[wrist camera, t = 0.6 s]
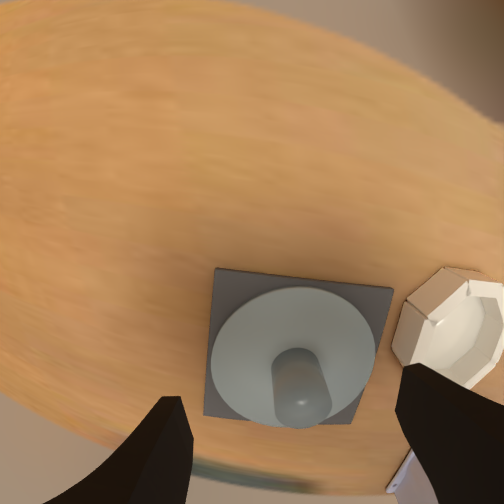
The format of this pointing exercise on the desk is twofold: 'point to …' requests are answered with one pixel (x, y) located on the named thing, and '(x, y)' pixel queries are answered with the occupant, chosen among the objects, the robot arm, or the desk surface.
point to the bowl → (453, 325)
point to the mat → (251, 284)
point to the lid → (292, 356)
